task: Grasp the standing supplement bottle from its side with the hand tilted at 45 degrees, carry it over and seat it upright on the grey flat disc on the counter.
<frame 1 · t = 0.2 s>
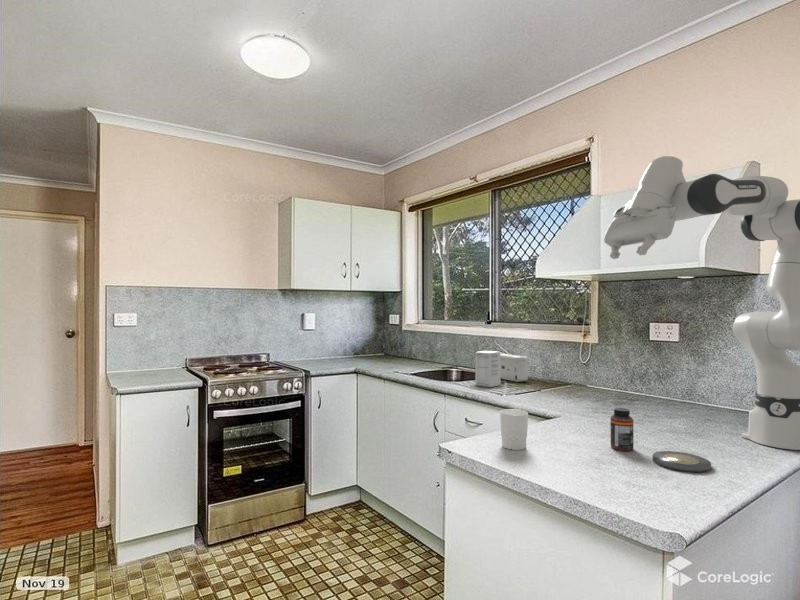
hand: (626, 255, 123), 54 cm above the worktop, tool tilted 30°, fingers open, 8 cm apart
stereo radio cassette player: (508, 379, 253), on the worktop
grey flat disc: (681, 463, 121), on the worktop
supplement bottle: (621, 449, 134), on the worktop
supplement box: (488, 385, 235), on the worktop
white cup: (514, 447, 136), on the worktop
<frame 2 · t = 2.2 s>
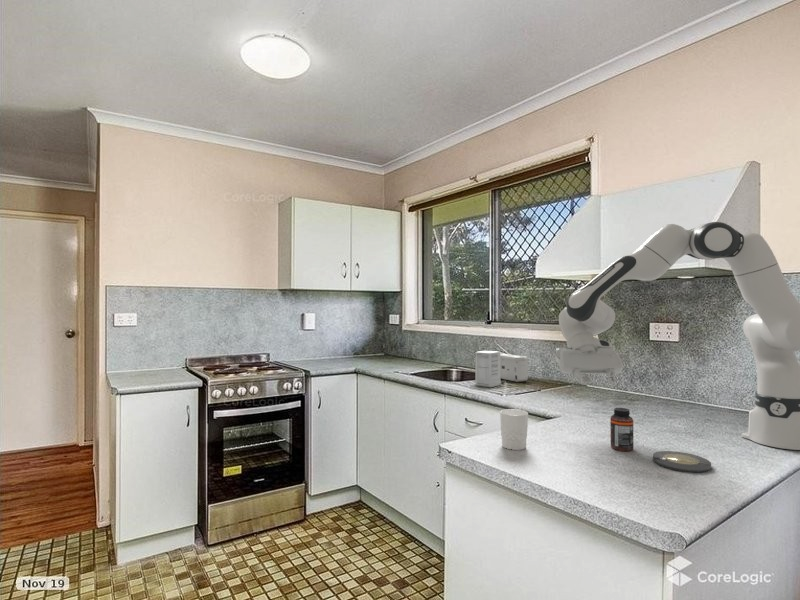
hand: (598, 383, 146), 17 cm above the worktop, tool tilted 45°, fingers open, 8 cm apart
nothing on the worktop moved.
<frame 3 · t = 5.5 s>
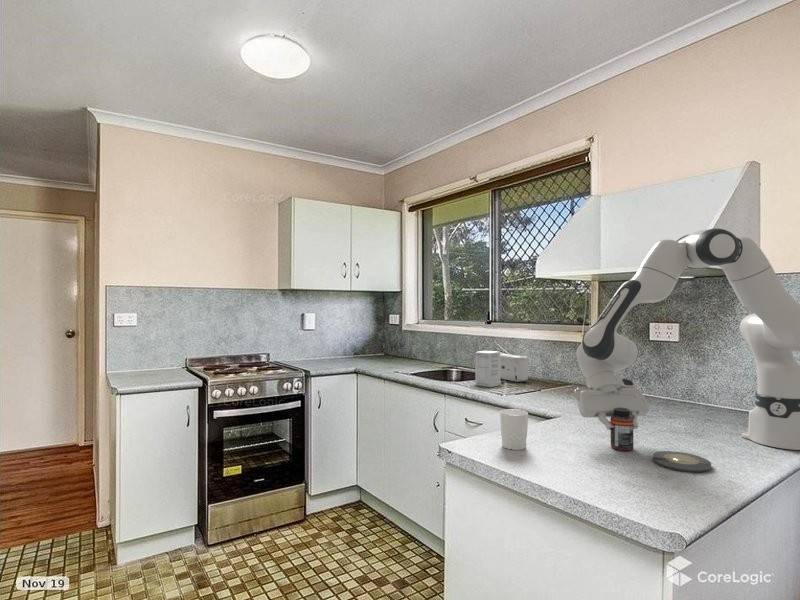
hand: (623, 428, 133), 6 cm above the worktop, tool tilted 45°, fingers closed on supplement bottle, 6 cm apart
supplement bottle: (621, 449, 134), on the worktop, touching gripper
everything else where it was.
when the fingers open (8 cm above the worktop, at t = 10.8 s): supplement bottle drops 1 cm, resting on grey flat disc.
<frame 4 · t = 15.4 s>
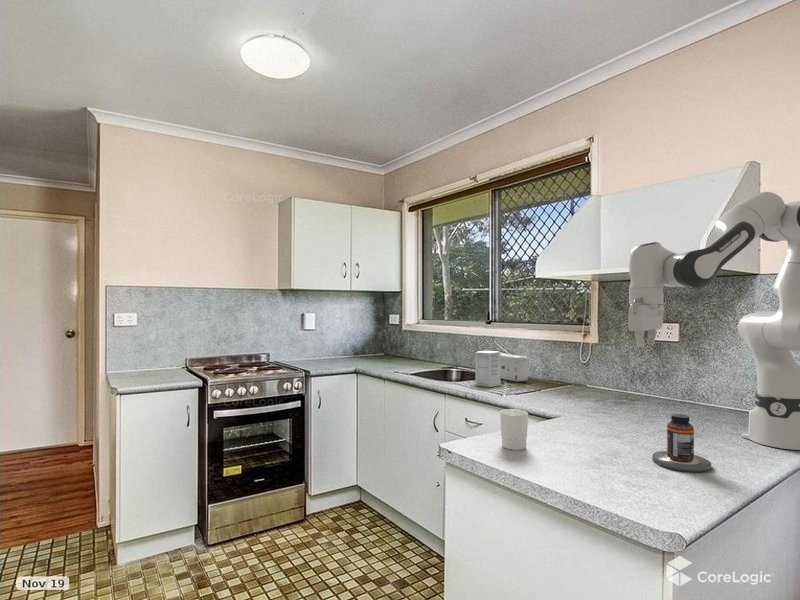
hand: (645, 345, 137), 29 cm above the worktop, tool pointing down, fingers open, 8 cm apart
supplement bottle: (680, 459, 121), point 1 cm above the worktop, touching grey flat disc
everything else where it was.
at the end: supplement bottle 0.2 cm from the grey flat disc (horizontally); supplement bottle tilted 0°; supplement bottle touching grey flat disc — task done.
